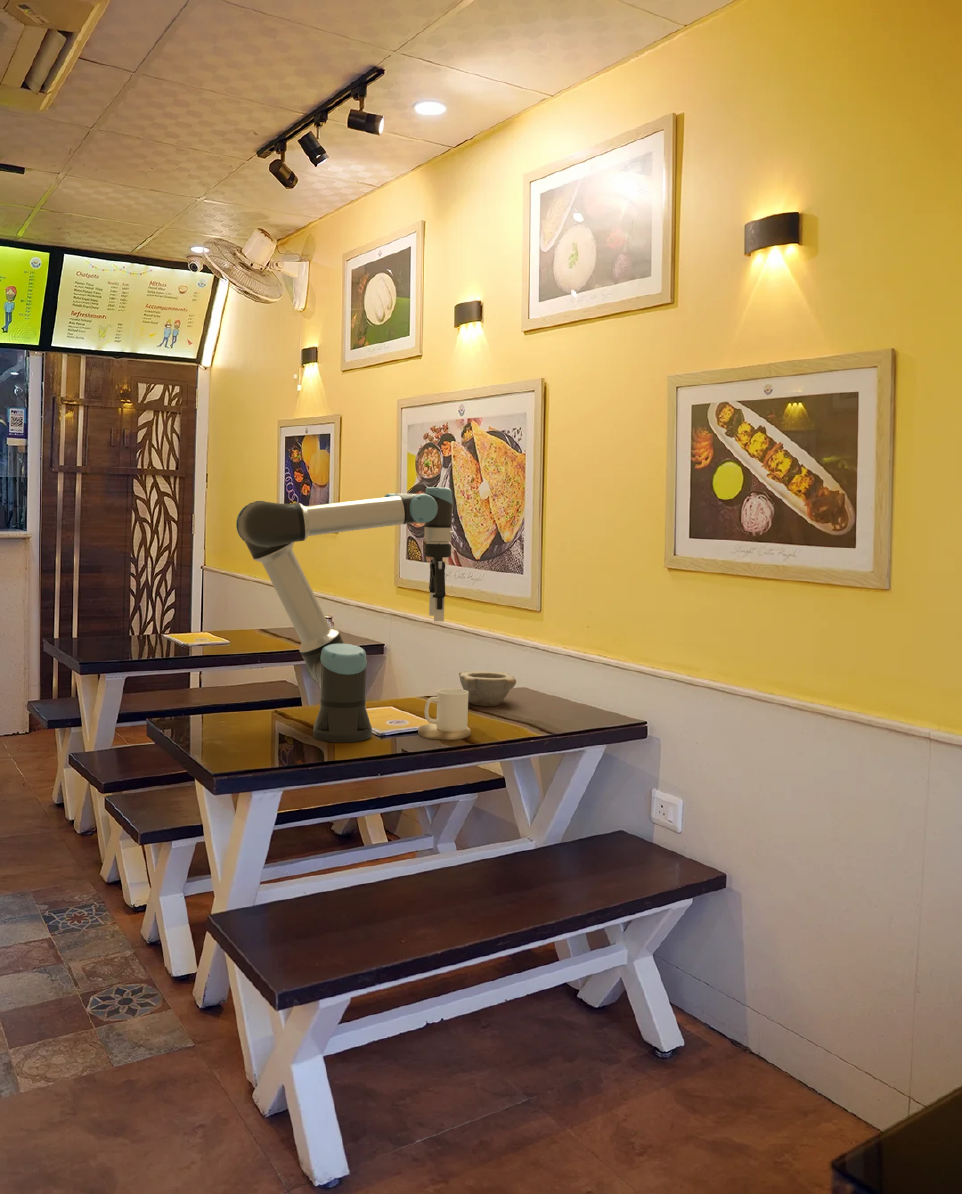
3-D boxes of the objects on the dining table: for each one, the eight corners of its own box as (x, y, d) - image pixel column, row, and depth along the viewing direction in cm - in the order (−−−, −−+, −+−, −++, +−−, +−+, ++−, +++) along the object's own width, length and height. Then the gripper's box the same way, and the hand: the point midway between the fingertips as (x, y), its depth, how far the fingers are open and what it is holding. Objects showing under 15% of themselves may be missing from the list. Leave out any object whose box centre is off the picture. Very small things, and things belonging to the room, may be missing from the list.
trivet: (420, 740, 259) (421, 735, 259) (415, 727, 273) (415, 723, 273) (474, 739, 261) (474, 734, 261) (466, 727, 275) (466, 722, 275)
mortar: (509, 698, 318) (510, 669, 317) (516, 709, 302) (517, 679, 301) (456, 697, 316) (457, 669, 316) (461, 708, 300) (462, 678, 299)
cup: (472, 731, 265) (473, 693, 264) (429, 734, 260) (430, 695, 259) (460, 724, 273) (461, 687, 272) (418, 727, 268) (419, 689, 267)
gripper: (456, 545, 268) (454, 623, 270) (446, 541, 292) (444, 613, 294) (428, 544, 267) (427, 623, 269) (420, 540, 291) (419, 613, 293)
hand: (436, 618), depth 281 cm, fingers open, 13 cm apart
